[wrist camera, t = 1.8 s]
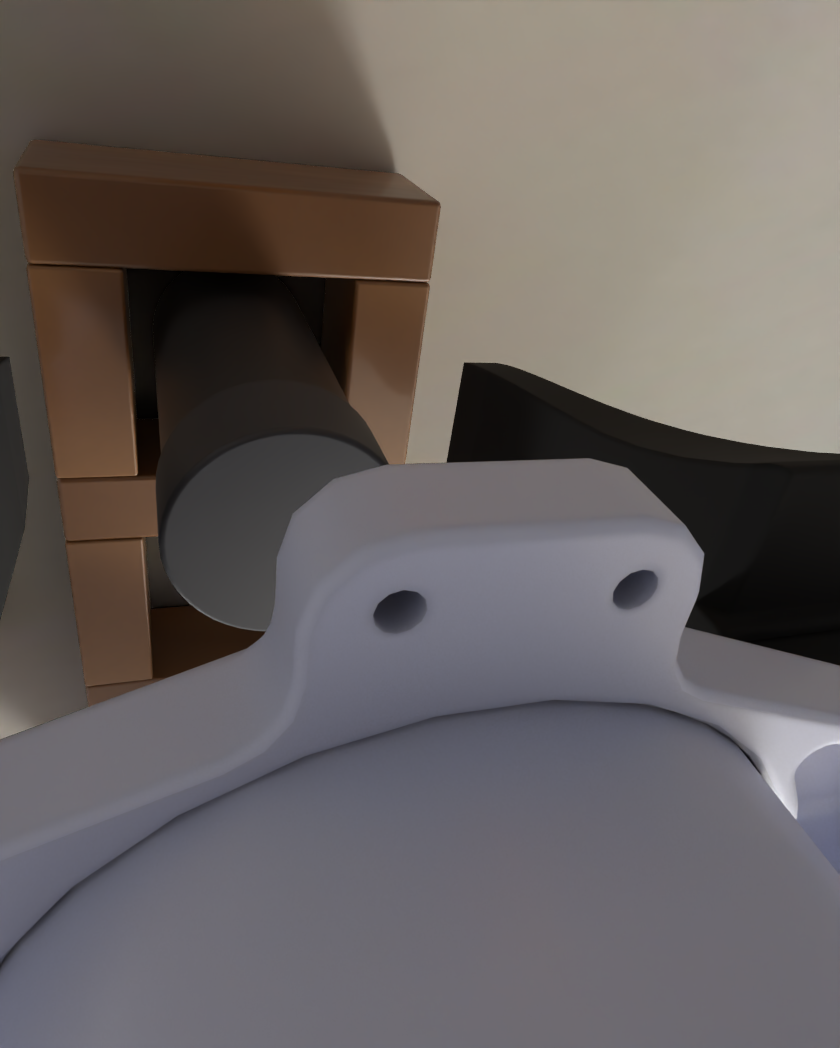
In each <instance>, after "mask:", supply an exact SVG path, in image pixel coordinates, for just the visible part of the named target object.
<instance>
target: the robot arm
mask: <svg viewBox="0 0 840 1048" xmlns="http://www.w3.org/2000/svg"><path fill="white" fill-rule="evenodd" d="M28 483H29V476H28V469H27V463H26V457H25V451H24V445H23V439H22V433H21V427H20V420H19V414H18V408H17V402H16V396H15V390H14V384H13V378H12V372H11V365H10V359H9V357H0V619H1V615H2V612H3V608H4V604H5V600H6V597H7V593H8V589H9V586H10V582H11V578H12V574H13V571H14V567H15V563H16V559H17V556H18V552H19V548H20V544H21V540H22V536H23V532H24V528H25V518H26V508H27V496H28ZM0 1048H840V454H834V453H817V452H806V451H798V450H790V449H781V448H773V447H766V446H760V445H753V444H747V443H741V442H736V441H731V440H726V439H721V438H716V437H711V436H706V435H702V434H698V433H694V432H690V431H686V430H682V429H679V428H675V427H672V426H668V425H665V424H661V423H658V422H654V421H651V420H648V419H645V418H642V417H639V416H636V415H633V414H630V413H627V412H625V411H622V410H619V409H617V408H614V407H611V406H609V405H606V404H603V403H601V402H598V401H596V400H593V399H591V398H588V397H586V396H584V395H581V394H579V393H576V392H574V391H572V390H569V389H567V388H565V387H562V386H560V385H557V384H555V383H553V382H550V381H548V380H546V379H543V378H541V377H538V376H536V375H533V374H531V373H528V372H526V371H523V370H520V369H517V368H514V367H511V366H508V365H504V364H498V363H464V366H463V372H462V377H461V383H460V389H459V395H458V400H457V406H456V412H455V418H454V423H453V429H452V435H451V441H450V446H449V452H448V458H447V463H423V464H391V465H383V466H380V467H376V468H372V469H368V470H365V471H361V472H357V473H353V474H350V475H346V476H342V477H338V478H335V479H333V480H332V481H330V482H329V483H328V484H327V485H326V486H325V487H323V488H322V489H321V490H320V491H319V492H318V493H316V494H315V495H314V496H313V497H312V498H311V499H309V500H308V501H307V502H306V503H305V504H303V505H302V506H301V507H300V508H299V509H298V510H296V511H295V512H294V513H293V514H292V517H291V520H290V523H289V525H288V528H287V531H286V534H285V536H284V539H283V542H282V544H281V547H280V550H279V553H278V555H277V565H276V589H275V605H274V610H273V614H272V619H271V623H270V625H269V627H268V628H267V630H266V632H265V634H264V635H263V636H262V637H261V638H260V639H259V640H257V641H256V642H255V643H254V644H252V645H251V646H250V647H248V648H247V649H244V650H241V651H239V652H236V653H233V654H230V655H228V656H225V657H222V658H220V659H217V660H214V661H212V662H209V663H206V664H203V665H201V666H198V667H195V668H193V669H190V670H187V671H184V672H182V673H179V674H176V675H174V676H171V677H168V678H165V679H163V680H160V681H157V682H155V683H152V684H149V685H147V686H144V687H141V688H138V689H136V690H133V691H130V692H128V693H125V694H122V695H119V696H117V697H114V698H111V699H109V700H106V701H103V702H100V703H98V704H95V705H92V706H90V707H87V708H84V709H82V710H79V711H76V712H73V713H71V714H68V715H65V716H63V717H60V718H57V719H54V720H52V721H49V722H46V723H44V724H41V725H38V726H35V727H33V728H30V729H27V730H25V731H22V732H19V733H17V734H14V735H11V736H8V737H6V738H3V739H0Z"/></svg>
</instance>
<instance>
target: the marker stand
mask: <svg viewBox="0 0 840 1048" xmlns="http://www.w3.org/2000/svg"><path fill="white" fill-rule="evenodd" d="M13 176H14V183H15V190H16V197H17V204H18V211H19V218H20V225H21V232H22V239H23V247H24V254H25V258H26V260H27V262H28V264H27V267H26V270H27V277H28V284H29V291H30V298H31V305H32V313H33V320H34V327H35V334H36V341H37V348H38V355H39V362H40V369H41V376H42V383H43V390H44V398H45V405H46V412H47V419H48V426H49V433H50V440H51V447H52V454H53V461H54V468H55V475H56V477H57V488H58V495H59V502H60V509H61V516H62V523H63V530H64V537H65V538H66V541H65V547H66V554H67V561H68V568H69V575H70V582H71V589H72V596H73V603H74V610H75V618H76V625H77V632H78V639H79V646H80V653H81V660H82V667H83V674H84V681H85V685H86V694H87V701H88V707H90V706H92V705H95V704H98V703H100V702H103V701H106V700H109V699H111V698H114V697H117V696H119V695H122V694H125V693H128V692H130V691H133V690H136V689H138V688H141V687H144V686H147V685H149V684H152V683H155V682H157V681H160V680H163V679H165V678H168V677H171V676H174V675H176V674H179V673H182V672H184V671H187V670H190V669H193V668H195V667H198V666H201V665H203V664H206V663H209V662H212V661H214V660H217V659H220V658H222V657H225V656H228V655H230V654H233V653H236V652H239V651H241V650H244V649H247V648H248V647H250V646H251V645H252V644H254V643H255V642H256V641H257V640H259V639H260V638H261V637H262V636H263V635H264V634H265V632H266V631H253V630H247V629H240V628H237V627H233V626H229V625H226V624H223V623H221V622H218V621H216V620H214V619H212V618H210V617H208V616H206V615H205V614H203V613H201V612H200V611H198V610H197V609H196V608H194V607H193V606H182V607H170V608H158V609H151V602H150V588H149V574H148V560H147V546H146V537H152V536H158V524H157V505H156V471H157V466H158V461H159V458H160V455H161V448H160V433H159V419H137V407H136V393H135V379H134V365H133V351H132V337H131V324H130V310H129V296H128V282H127V268H131V269H152V270H173V271H195V272H216V273H237V274H259V275H280V276H301V277H323V278H326V281H325V296H324V311H323V326H322V341H321V350H322V352H323V354H324V356H325V358H326V360H327V362H328V364H329V365H330V367H331V369H332V371H333V373H334V375H335V377H336V379H337V381H338V383H339V385H340V387H341V389H342V390H343V392H344V394H345V396H346V398H347V400H348V402H349V404H350V406H351V407H353V408H354V409H355V410H356V411H357V412H358V413H359V414H360V416H361V417H362V418H363V419H364V420H365V422H366V423H367V425H368V427H369V428H370V430H371V431H372V433H373V435H374V437H375V439H376V441H377V442H378V444H379V446H380V448H381V450H382V452H383V454H384V456H385V457H386V459H387V461H388V463H389V465H391V464H405V460H406V453H407V446H408V439H409V432H410V425H411V417H412V410H413V403H414V396H415V389H416V382H417V375H418V367H419V360H420V353H421V346H422V339H423V332H424V325H425V317H426V310H427V303H428V296H429V289H430V286H429V284H428V283H427V282H428V281H429V280H430V278H431V272H432V265H433V258H434V251H435V243H436V236H437V229H438V222H439V215H440V208H441V206H440V202H438V201H437V200H436V199H434V198H433V197H431V196H430V195H429V194H427V193H426V192H425V191H423V190H422V189H420V188H419V187H418V186H416V185H415V184H413V183H412V182H411V181H409V180H408V179H407V178H405V177H404V176H402V175H401V174H398V173H387V172H377V171H366V170H355V169H345V168H334V167H323V166H312V165H302V164H291V163H280V162H270V161H259V160H248V159H238V158H227V157H216V156H206V155H195V154H184V153H173V152H163V151H152V150H141V149H131V148H120V147H109V146H99V145H88V144H77V143H66V142H56V141H45V140H32V141H30V142H29V144H28V146H27V147H26V149H25V151H24V152H23V154H22V156H21V157H20V159H19V161H18V162H17V164H16V166H15V167H14V171H13Z"/></svg>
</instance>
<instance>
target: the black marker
mask: <svg viewBox="0 0 840 1048" xmlns="http://www.w3.org/2000/svg"><path fill="white" fill-rule="evenodd" d="M153 346H154V360H155V375H156V389H157V404H158V418H159V433H160V448H161V455H160V458H159V461H158V466H157V471H156V505H157V524H158V543H159V550H160V557H161V560H162V564H163V567H164V570H165V572H166V574H167V576H168V578H169V580H170V582H171V583H172V584H173V586H174V587H175V589H176V590H177V591H178V593H179V594H180V595H181V596H182V597H183V598H184V599H185V600H186V601H187V602H188V603H189V604H190V605H192V606H193V607H194V608H196V609H197V610H198V611H200V612H201V613H203V614H205V615H206V616H208V617H210V618H212V619H214V620H216V621H218V622H221V623H223V624H226V625H229V626H233V627H237V628H240V629H247V630H253V631H266V630H267V628H268V627H269V625H270V623H271V619H272V614H273V610H274V605H275V589H276V565H277V555H278V553H279V550H280V547H281V544H282V542H283V539H284V536H285V534H286V531H287V528H288V525H289V523H290V520H291V517H292V514H293V513H294V512H295V511H296V510H298V509H299V508H300V507H301V506H302V505H303V504H305V503H306V502H307V501H308V500H309V499H311V498H312V497H313V496H314V495H315V494H316V493H318V492H319V491H320V490H321V489H322V488H323V487H325V486H326V485H327V484H328V483H329V482H330V481H332V480H333V479H335V478H338V477H342V476H346V475H350V474H353V473H357V472H361V471H365V470H368V469H372V468H376V467H380V466H383V465H389V463H388V461H387V459H386V457H385V456H384V454H383V452H382V450H381V448H380V446H379V444H378V442H377V441H376V439H375V437H374V435H373V433H372V431H371V430H370V428H369V427H368V425H367V423H366V422H365V420H364V419H363V418H362V417H361V416H360V414H359V413H358V412H357V411H356V410H355V409H354V408H353V407H351V406H350V404H349V402H348V400H347V398H346V396H345V394H344V392H343V390H342V389H341V387H340V385H339V383H338V381H337V379H336V377H335V375H334V373H333V371H332V369H331V367H330V365H329V364H328V362H327V360H326V358H325V356H324V354H323V352H322V350H321V348H320V346H319V344H318V342H317V340H316V338H315V337H314V335H313V333H312V331H311V329H310V327H309V325H308V323H307V321H306V319H305V317H304V315H303V313H302V311H301V310H300V308H299V306H298V304H297V302H296V300H295V298H294V297H293V295H292V293H291V292H290V290H289V289H288V288H287V287H286V286H285V284H284V283H283V282H282V281H281V280H280V279H278V278H277V277H276V276H275V275H259V274H237V273H216V272H195V271H184V272H182V273H181V274H179V275H178V276H177V277H176V278H175V279H173V280H172V282H171V283H170V284H169V285H168V286H167V287H166V289H165V290H164V292H163V293H162V295H161V297H160V299H159V301H158V303H157V306H156V309H155V312H154V317H153Z"/></svg>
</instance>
